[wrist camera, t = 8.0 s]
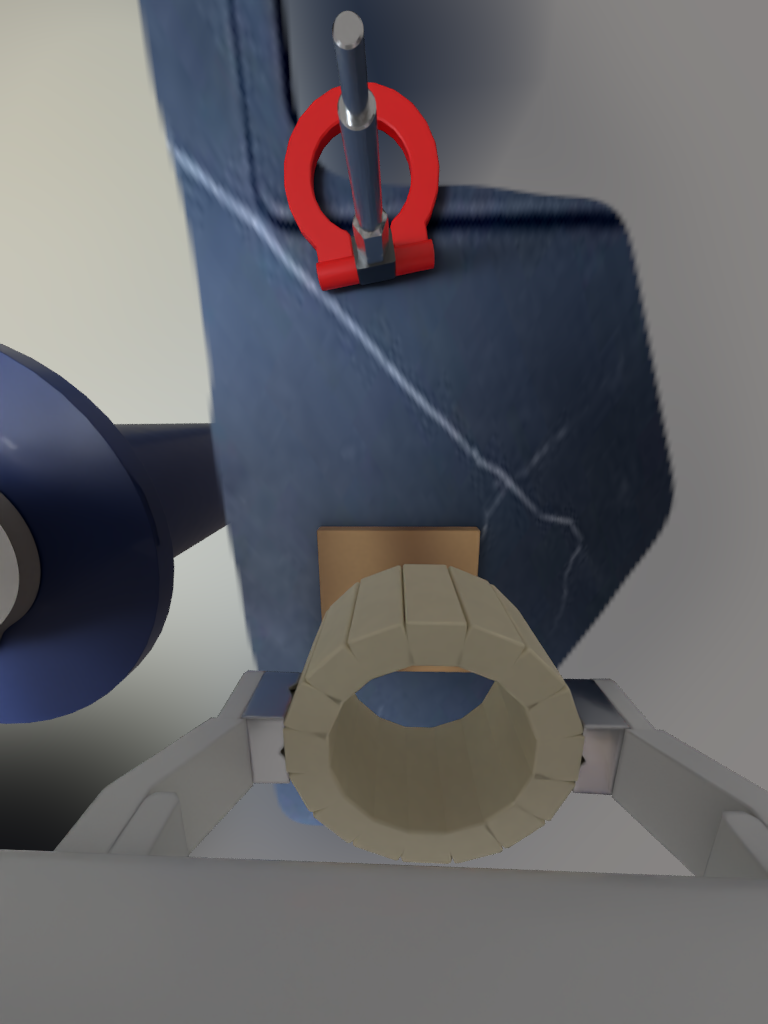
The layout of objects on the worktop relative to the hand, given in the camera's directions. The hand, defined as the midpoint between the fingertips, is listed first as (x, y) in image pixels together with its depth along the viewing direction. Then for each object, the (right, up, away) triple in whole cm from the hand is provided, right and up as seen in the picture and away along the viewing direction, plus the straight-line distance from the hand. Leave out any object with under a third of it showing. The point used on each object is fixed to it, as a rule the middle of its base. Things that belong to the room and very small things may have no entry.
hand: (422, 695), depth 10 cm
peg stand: (0, -2, +17) cm, 17 cm away
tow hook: (-2, +23, +11) cm, 25 cm away
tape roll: (0, 0, +1) cm, 1 cm away
